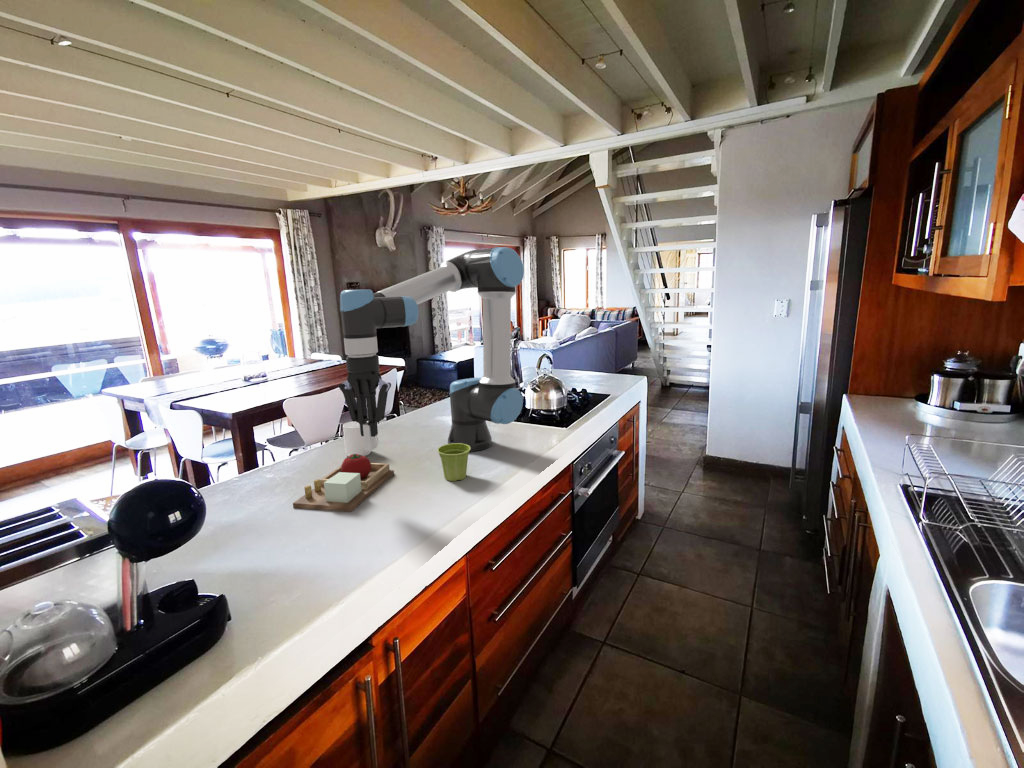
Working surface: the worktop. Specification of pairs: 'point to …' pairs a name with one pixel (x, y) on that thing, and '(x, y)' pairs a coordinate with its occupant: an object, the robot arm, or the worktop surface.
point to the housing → (342, 487)
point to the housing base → (368, 486)
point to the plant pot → (454, 460)
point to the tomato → (356, 465)
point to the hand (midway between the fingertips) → (370, 448)
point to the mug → (355, 439)
